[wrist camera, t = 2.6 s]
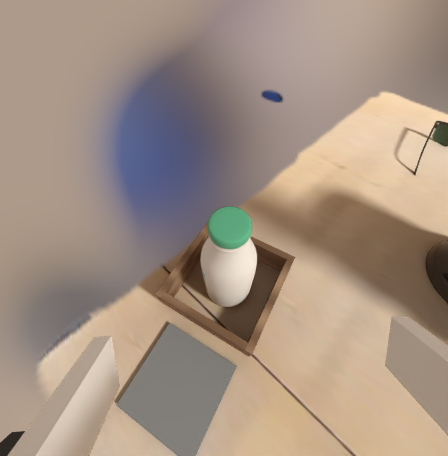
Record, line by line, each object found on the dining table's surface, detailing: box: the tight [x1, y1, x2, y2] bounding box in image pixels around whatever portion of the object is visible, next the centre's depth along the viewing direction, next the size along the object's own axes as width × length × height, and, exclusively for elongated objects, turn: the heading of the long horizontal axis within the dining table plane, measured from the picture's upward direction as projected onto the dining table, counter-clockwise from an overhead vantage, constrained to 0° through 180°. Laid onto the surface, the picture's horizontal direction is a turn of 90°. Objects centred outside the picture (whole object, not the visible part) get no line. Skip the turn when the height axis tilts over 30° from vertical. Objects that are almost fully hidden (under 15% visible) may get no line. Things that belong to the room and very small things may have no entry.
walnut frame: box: [156, 222, 295, 356], centre depth 39 cm, size 16×16×5 cm
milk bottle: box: [201, 207, 257, 307], centre depth 32 cm, size 8×8×20 cm
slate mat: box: [117, 323, 237, 456], centre depth 33 cm, size 12×12×1 cm
